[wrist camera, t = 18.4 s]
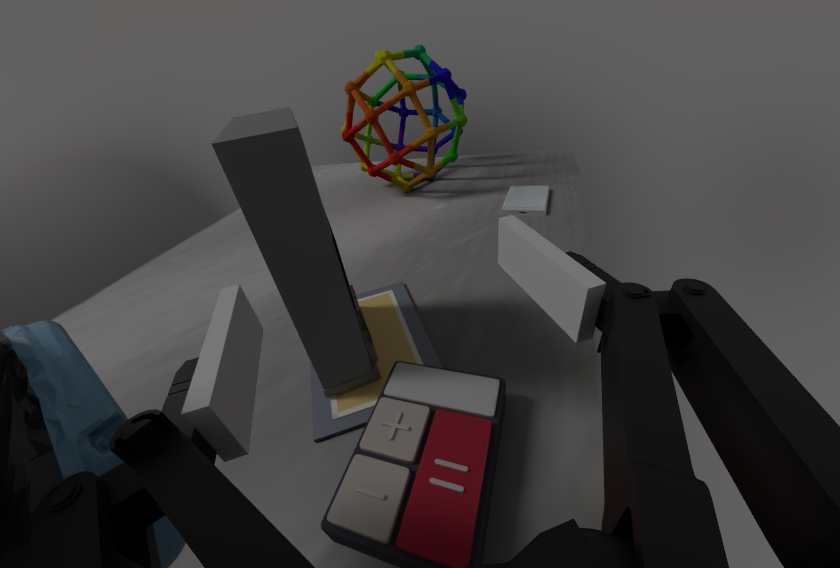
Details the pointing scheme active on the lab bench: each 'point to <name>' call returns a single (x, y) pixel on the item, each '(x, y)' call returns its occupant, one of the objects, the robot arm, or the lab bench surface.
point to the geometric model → (405, 89)
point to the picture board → (393, 341)
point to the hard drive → (526, 200)
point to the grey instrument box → (298, 244)
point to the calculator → (422, 470)
